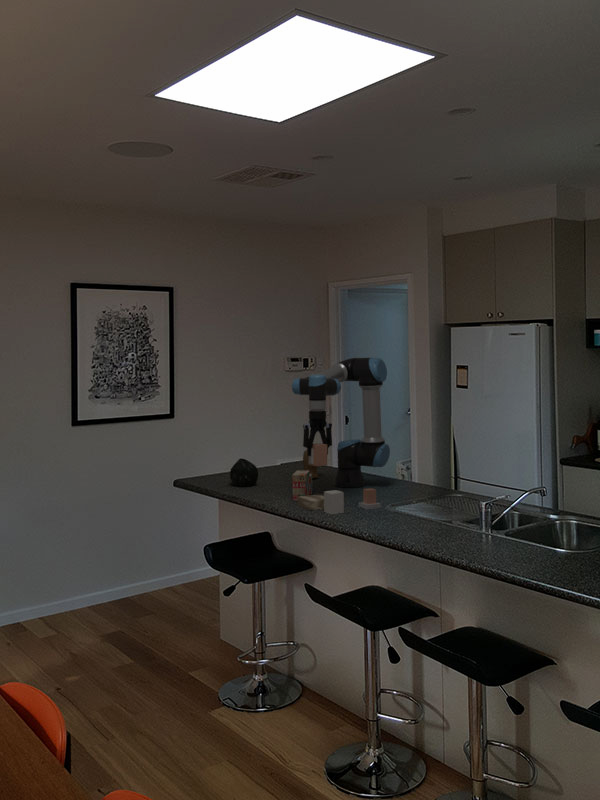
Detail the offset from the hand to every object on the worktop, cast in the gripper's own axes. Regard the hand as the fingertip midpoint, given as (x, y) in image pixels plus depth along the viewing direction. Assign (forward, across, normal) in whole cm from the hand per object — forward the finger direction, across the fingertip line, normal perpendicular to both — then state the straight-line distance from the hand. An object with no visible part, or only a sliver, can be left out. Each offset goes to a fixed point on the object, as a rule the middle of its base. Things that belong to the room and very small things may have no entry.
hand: (317, 462), depth 332 cm
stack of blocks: (+20, -6, -24) cm, 31 cm away
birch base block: (+19, +1, 0) cm, 19 cm away
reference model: (+19, -18, +14) cm, 30 cm away
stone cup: (+19, -35, -68) cm, 79 cm away
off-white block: (+19, +1, +15) cm, 25 cm away
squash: (+19, +5, -65) cm, 68 cm away
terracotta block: (+1, 0, 0) cm, 1 cm away
